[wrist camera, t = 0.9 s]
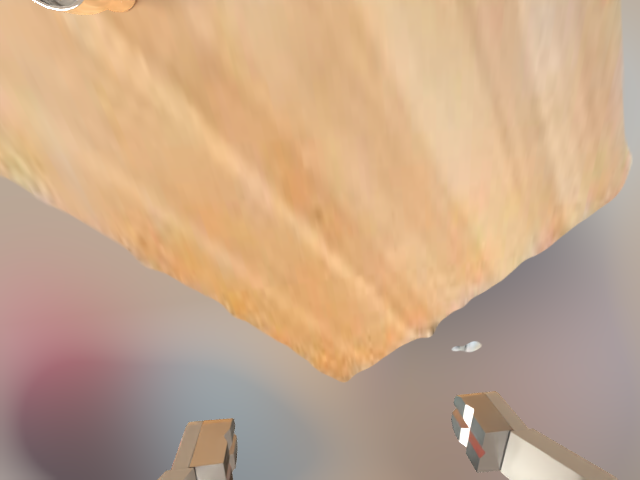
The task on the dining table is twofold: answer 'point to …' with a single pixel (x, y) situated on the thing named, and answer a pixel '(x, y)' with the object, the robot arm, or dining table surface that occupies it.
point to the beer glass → (87, 5)
